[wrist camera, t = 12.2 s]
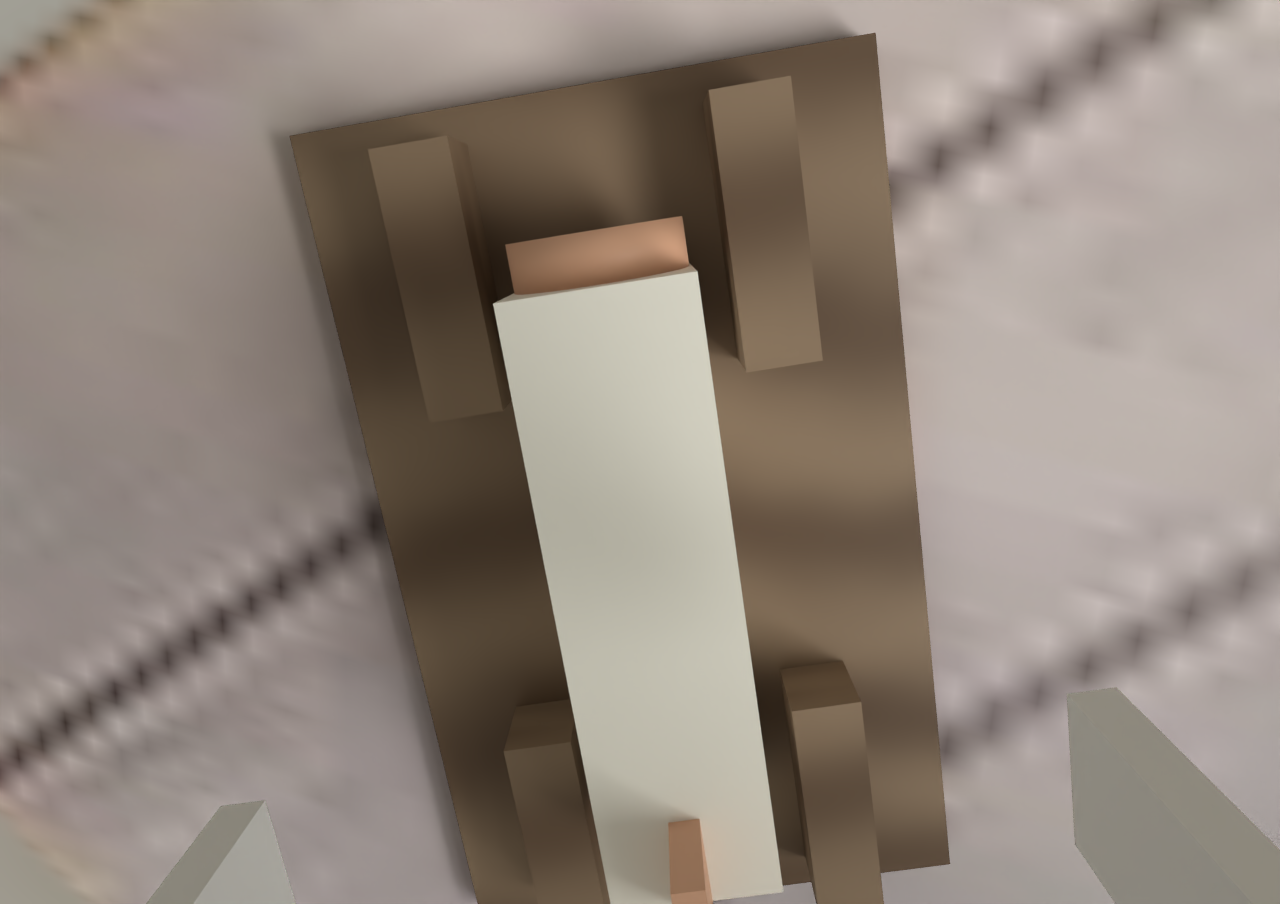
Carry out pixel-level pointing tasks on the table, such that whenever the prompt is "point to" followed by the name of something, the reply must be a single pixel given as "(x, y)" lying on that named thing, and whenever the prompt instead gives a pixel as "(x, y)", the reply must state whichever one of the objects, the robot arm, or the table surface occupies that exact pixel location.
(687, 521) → the block
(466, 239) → the cradle
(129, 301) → the table surface
